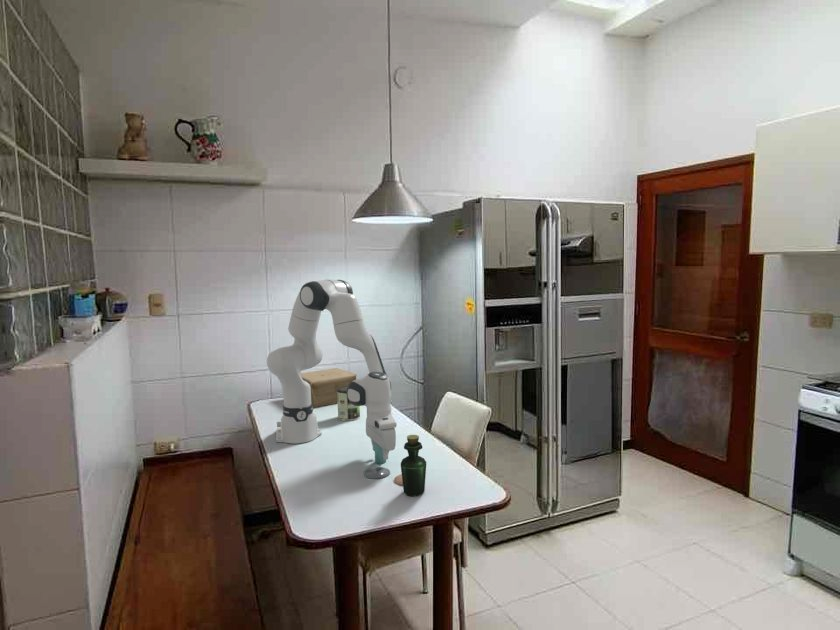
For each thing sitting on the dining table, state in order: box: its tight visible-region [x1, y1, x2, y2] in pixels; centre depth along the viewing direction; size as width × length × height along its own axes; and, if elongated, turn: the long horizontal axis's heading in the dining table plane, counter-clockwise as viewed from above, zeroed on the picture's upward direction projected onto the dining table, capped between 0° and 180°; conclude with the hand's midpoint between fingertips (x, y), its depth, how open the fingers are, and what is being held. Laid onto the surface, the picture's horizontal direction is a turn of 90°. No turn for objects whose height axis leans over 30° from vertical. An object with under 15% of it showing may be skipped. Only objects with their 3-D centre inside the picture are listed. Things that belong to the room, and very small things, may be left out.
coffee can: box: [337, 386, 361, 422], centre depth 240 cm, size 10×10×14 cm
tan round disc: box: [393, 473, 403, 487], centre depth 172 cm, size 9×9×1 cm
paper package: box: [301, 367, 358, 409], centre depth 273 cm, size 27×26×14 cm
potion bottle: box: [400, 434, 427, 497], centre depth 162 cm, size 8×8×18 cm
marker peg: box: [374, 443, 387, 465], centre depth 188 cm, size 4×4×7 cm
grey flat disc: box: [363, 466, 391, 480], centre depth 178 cm, size 9×9×1 cm
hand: (380, 454), depth 188 cm, fingers open, 8 cm apart
